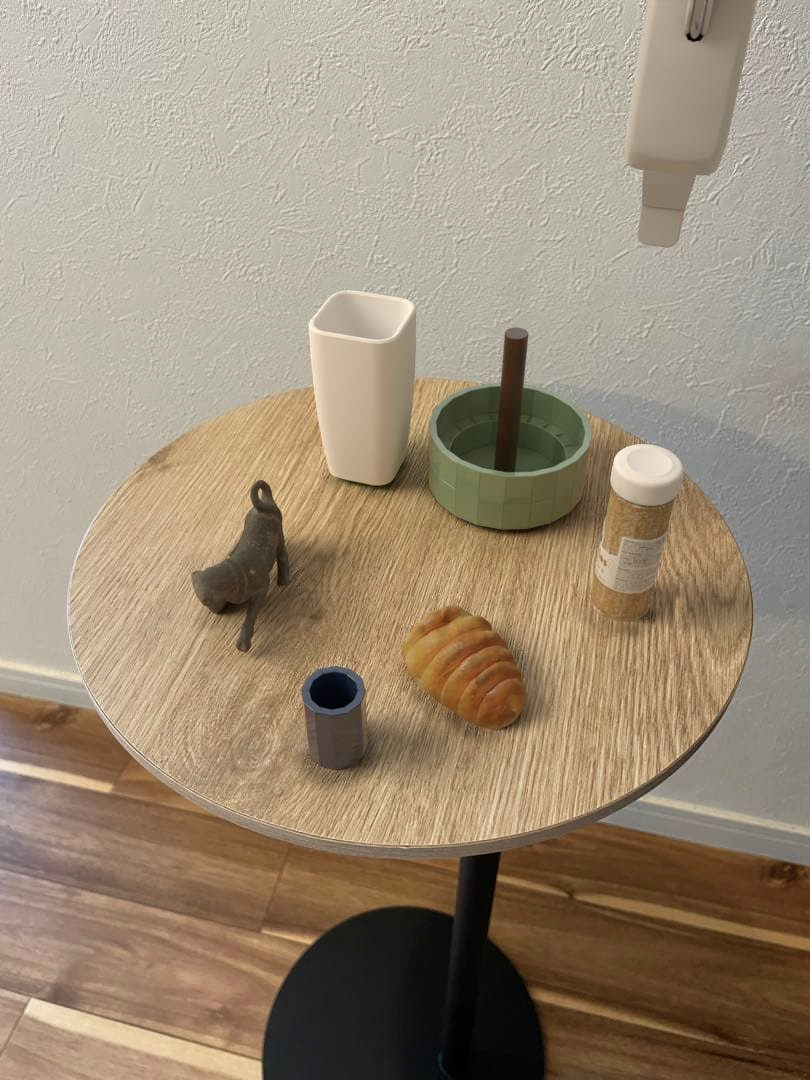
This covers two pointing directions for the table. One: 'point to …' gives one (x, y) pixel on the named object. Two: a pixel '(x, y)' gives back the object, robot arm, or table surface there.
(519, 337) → the stick
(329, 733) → the holder
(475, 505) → the bowl
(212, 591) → the dog figurine
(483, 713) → the pastry
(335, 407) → the cup
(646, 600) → the tan spice jar
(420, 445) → the table surface
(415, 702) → the table surface
